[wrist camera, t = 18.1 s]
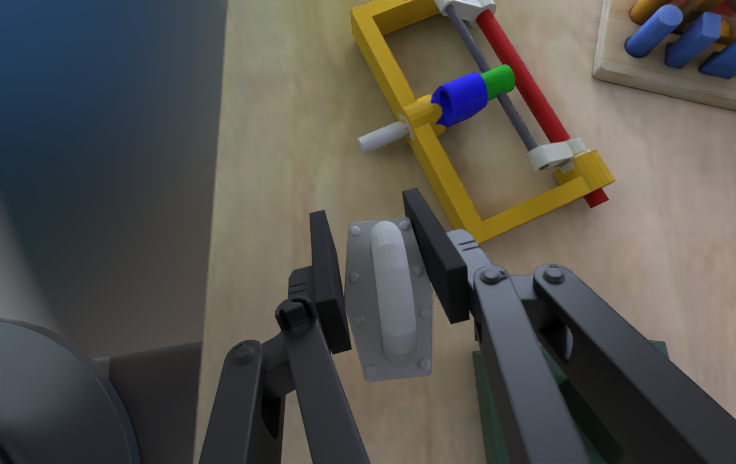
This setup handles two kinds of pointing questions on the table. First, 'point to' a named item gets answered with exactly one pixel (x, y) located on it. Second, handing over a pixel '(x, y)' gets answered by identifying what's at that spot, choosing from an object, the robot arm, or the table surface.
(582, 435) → the green rectangular block
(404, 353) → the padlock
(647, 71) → the peg board
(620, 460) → the black bar red tab
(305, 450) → the table surface
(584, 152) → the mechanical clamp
